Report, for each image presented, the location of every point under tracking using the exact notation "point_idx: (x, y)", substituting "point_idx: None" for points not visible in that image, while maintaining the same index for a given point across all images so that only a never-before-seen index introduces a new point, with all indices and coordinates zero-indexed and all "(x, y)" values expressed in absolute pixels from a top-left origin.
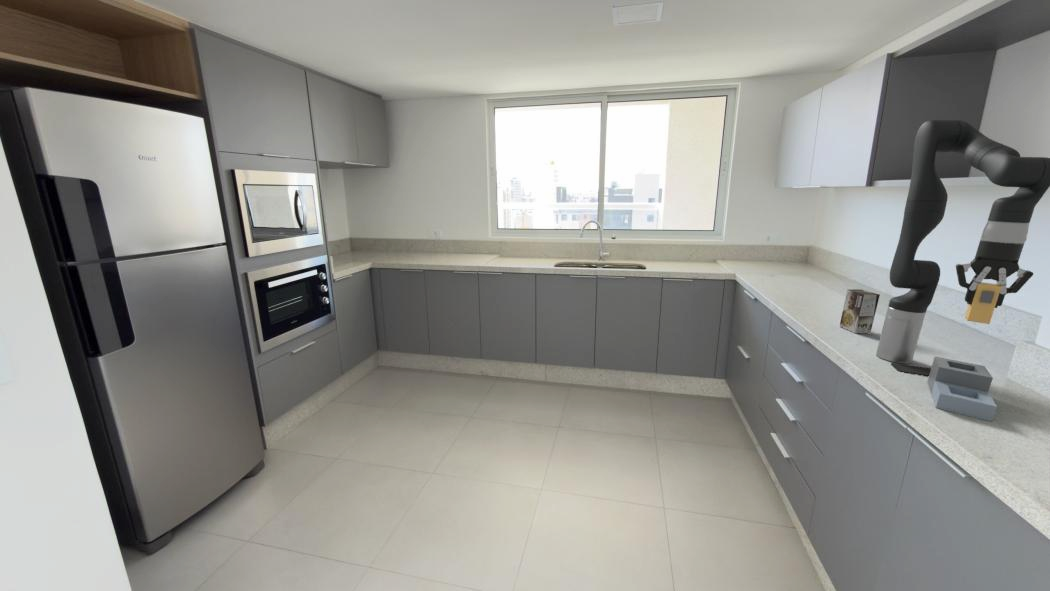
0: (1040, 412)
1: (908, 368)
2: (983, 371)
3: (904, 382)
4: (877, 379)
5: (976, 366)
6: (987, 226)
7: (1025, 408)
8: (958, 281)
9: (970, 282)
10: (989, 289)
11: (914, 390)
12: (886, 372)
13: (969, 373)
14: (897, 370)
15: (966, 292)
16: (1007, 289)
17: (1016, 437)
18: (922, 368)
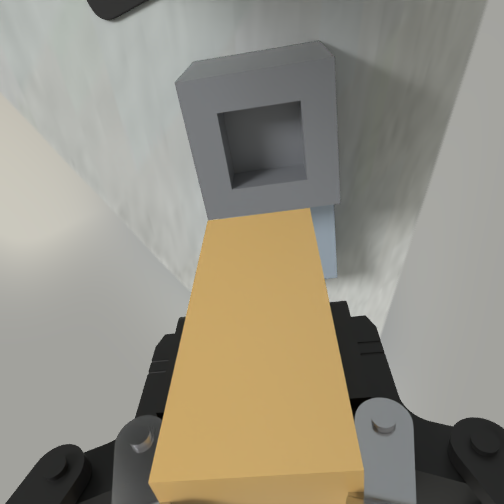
0: (460, 79)
1: None
2: (322, 150)
3: (148, 137)
4: (94, 177)
5: (306, 98)
6: None
7: (429, 78)
8: (16, 494)
9: (114, 495)
10: None
11: (183, 186)
12: (82, 76)
13: (283, 209)
14: (95, 11)
15: (142, 397)
16: (419, 496)
17: (359, 297)
18: None
